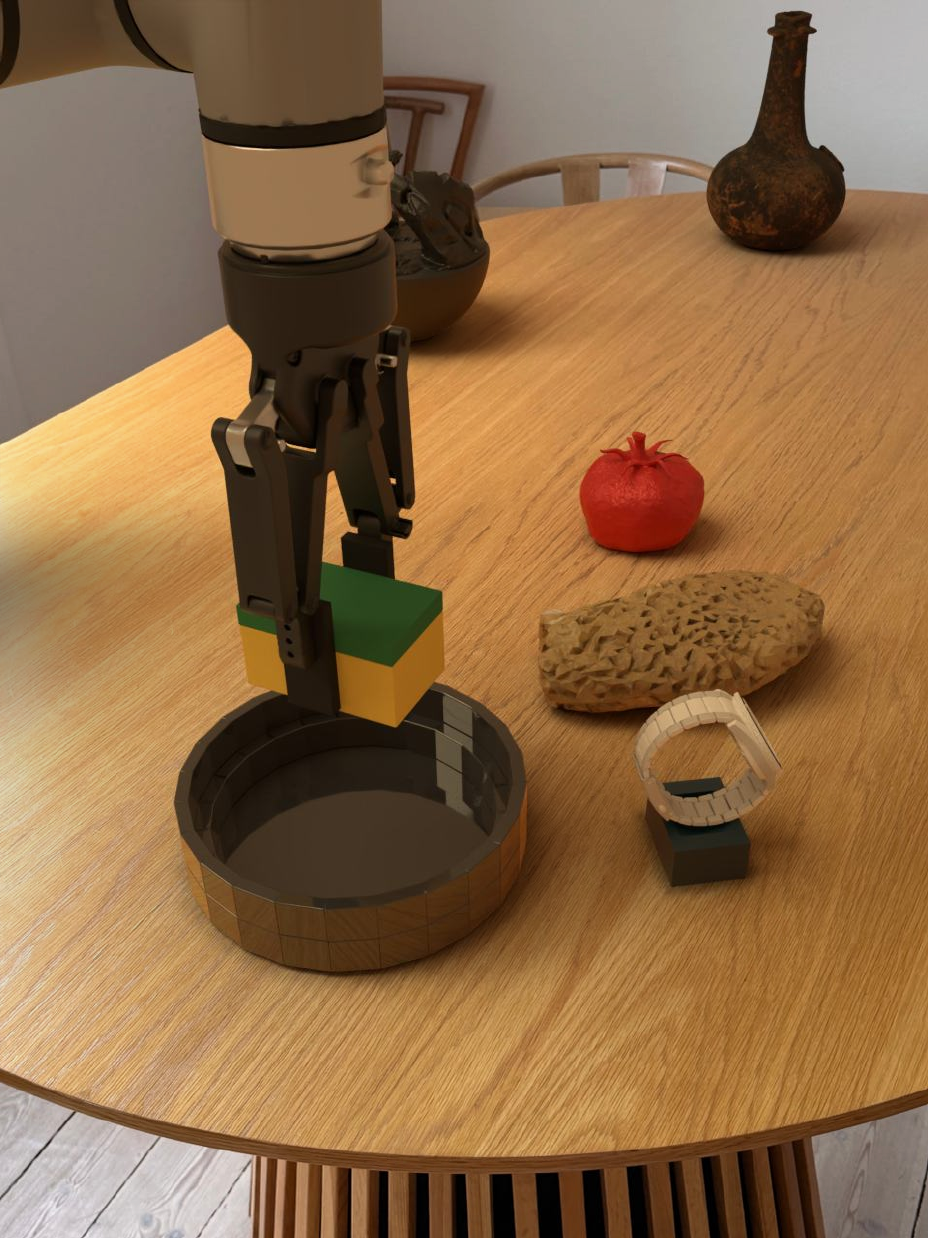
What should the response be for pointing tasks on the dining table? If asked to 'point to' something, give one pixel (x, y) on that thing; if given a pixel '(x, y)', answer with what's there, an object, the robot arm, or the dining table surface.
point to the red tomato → (641, 497)
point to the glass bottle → (779, 159)
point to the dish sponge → (364, 643)
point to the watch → (704, 791)
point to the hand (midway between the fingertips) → (345, 671)
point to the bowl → (352, 828)
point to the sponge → (677, 641)
